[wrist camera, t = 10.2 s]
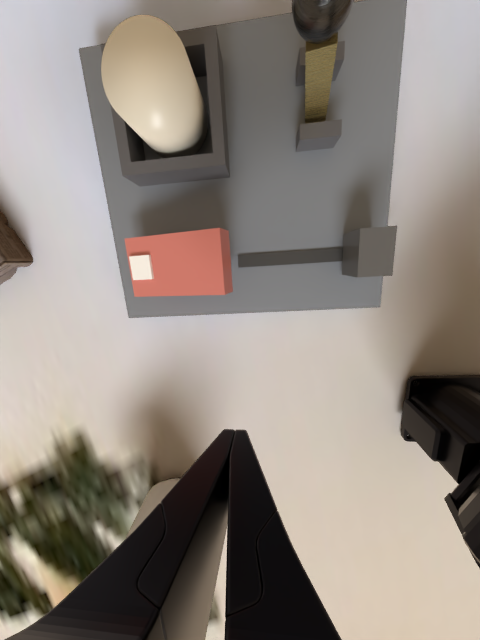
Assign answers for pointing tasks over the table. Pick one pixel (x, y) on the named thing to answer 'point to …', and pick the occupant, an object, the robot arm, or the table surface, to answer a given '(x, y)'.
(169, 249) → the rocker
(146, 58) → the button
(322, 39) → the lever
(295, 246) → the panel
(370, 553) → the table surface
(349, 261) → the slider
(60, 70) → the table surface
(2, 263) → the grey flat block
